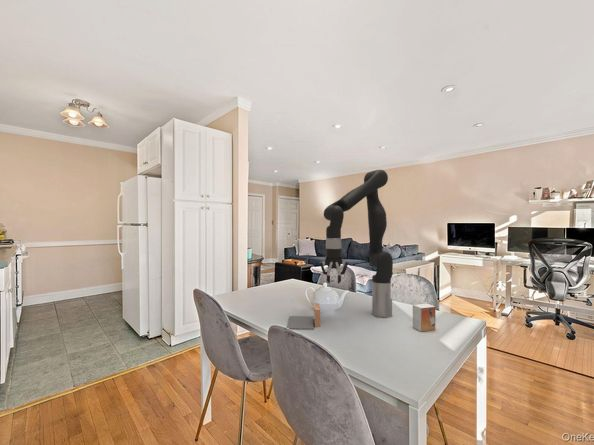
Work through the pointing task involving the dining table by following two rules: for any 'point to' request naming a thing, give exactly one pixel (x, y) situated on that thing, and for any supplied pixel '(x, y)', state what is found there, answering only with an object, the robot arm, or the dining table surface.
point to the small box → (424, 317)
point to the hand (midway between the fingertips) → (333, 282)
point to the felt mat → (300, 322)
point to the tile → (317, 314)
